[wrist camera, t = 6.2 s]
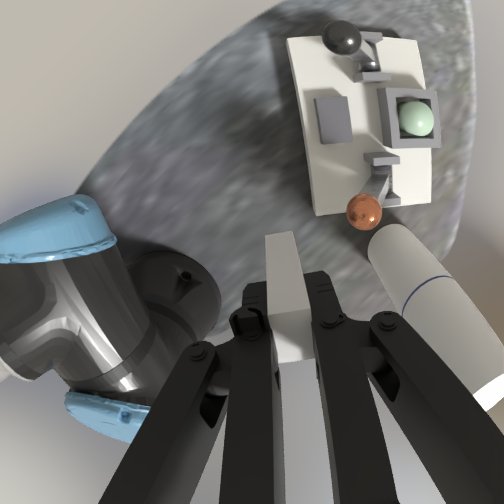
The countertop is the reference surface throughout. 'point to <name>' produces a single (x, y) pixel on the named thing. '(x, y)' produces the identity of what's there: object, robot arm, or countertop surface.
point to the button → (415, 118)
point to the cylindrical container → (439, 311)
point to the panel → (361, 121)
